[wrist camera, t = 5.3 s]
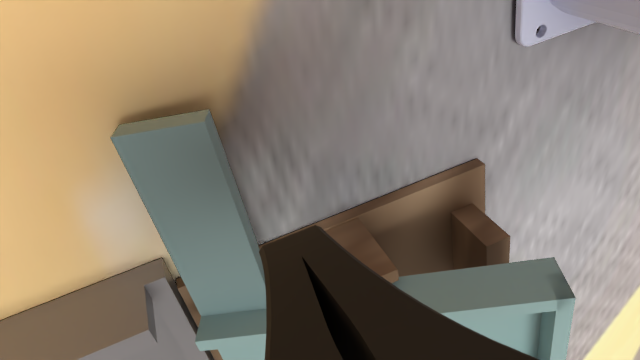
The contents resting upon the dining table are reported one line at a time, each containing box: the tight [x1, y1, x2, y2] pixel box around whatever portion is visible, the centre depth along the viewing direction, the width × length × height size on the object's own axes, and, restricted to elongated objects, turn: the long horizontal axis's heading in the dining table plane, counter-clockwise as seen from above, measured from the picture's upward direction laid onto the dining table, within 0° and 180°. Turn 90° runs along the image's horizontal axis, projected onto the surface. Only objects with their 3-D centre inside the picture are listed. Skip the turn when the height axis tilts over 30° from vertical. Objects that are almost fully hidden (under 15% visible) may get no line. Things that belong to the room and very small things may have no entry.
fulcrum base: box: [176, 159, 510, 360], centre depth 22 cm, size 15×8×4 cm, turn 102°
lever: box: [110, 109, 575, 360], centre depth 18 cm, size 14×14×2 cm
